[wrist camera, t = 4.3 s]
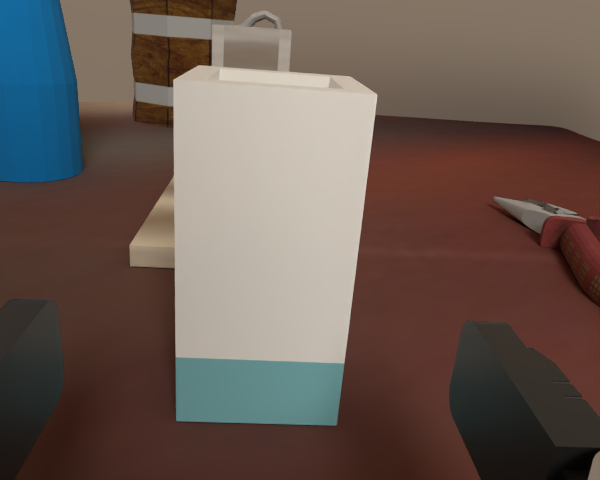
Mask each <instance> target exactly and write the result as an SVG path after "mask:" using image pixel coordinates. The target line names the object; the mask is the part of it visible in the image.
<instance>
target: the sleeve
mask: <svg viewBox="0 0 600 480" xmlns="http://www.w3.org/2000/svg"><path fill="white" fill-rule="evenodd" d="M376 101H377V94H376V93H374V92H373V91H371V90H370V89H368V88H367V87H365V86H364V85H362V84H361V83H359V82H358V81H356V80H355V79H353V78H352V77H350V76H336V75H323V74H310V73H296V72H283V71H269V70H256V69H243V68H229V67H216V66H203V65H198V66H197V67H195V68H193V69H191V70H190V71H188V72H186V73H184V74H183V75H181V76H179V77H177V78H176V79H174V80H173V106H174V226H175V346H176V421H190V422H225V423H261V424H297V425H332V426H337V418H338V410H339V402H340V394H341V386H342V378H343V370H344V362H345V354H346V345H347V337H348V329H349V321H350V313H351V305H352V297H353V289H354V281H355V273H356V265H357V256H358V248H359V240H360V232H361V224H362V216H363V208H364V200H365V192H366V184H367V175H368V167H369V159H370V151H371V143H372V135H373V127H374V119H375V110H376V103H377V102H376Z"/></svg>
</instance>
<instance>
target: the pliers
mask: <svg viewBox="0 0 600 480" xmlns="http://www.w3.org/2000/svg"><path fill="white" fill-rule="evenodd" d="M493 201H494V202H495V203H497V204H498V205H499V206H501V207H502V208H503V209H505V210H506V211H507V212H509V213H510V214H511V215H513V216H514V217H515V218H517V219H518V220H519V221H521V222H522V223H523V224H525V225H526V226H528V227H529V228H531V229H532V230H534V231H535V232H537V233H539V234H541V235H540V239H539V244H540V246H541V247H548V248H555V249H561V251H562V253H563V255H564V257H565V259H566V261H567V262H568V264H569V266H570V268H571V270H572V272H573V274H574V275H575V277H576V279H577V281H578V283H579V285H580V286H581V288H582V289H583V291H584V292H585V293H586V294H587V295H588V296H589V297H590V298H591V300H592V301H594V302H595V303H596V304H597V305H599V306H600V217H596V216H593V215H592V216H590V217H588V218H587V220H586V219H584V218H581V217H578V214H577V213H575V212H572V211H570V210H567V209H564V208H561V207H557V206H554V205H551V204H547V203H543V202H539V201H535V200H530V199H526V198H523V201H516V200H511V199H505V198H500V197H494V198H493Z"/></svg>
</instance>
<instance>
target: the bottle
mask: <svg viewBox="0 0 600 480" xmlns="http://www.w3.org/2000/svg"><path fill="white" fill-rule="evenodd" d="M82 170H83V161H82V147H81V132H80V118H79V104H78V91H77V79H76V75H75V70H74V65H73V60H72V56H71V51H70V46H69V42H68V37H67V32H66V28H65V23H64V18H63V13H62V9H61V4H60V0H0V181H9V182H47V181H54V180H61V179H65V178H69V177H73V176H75V175H78V174H80V173H81V172H82Z"/></svg>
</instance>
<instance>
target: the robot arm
mask: <svg viewBox="0 0 600 480" xmlns="http://www.w3.org/2000/svg"><path fill="white" fill-rule="evenodd" d="M63 381H64V365H63V355H62V344H61V334H60V323H59V314H58V308H57V305H56V304H55V302H54V301H47V300H25V299H11V300H9V301H8V302H7V303H6V304H5V305H4V306H3V307H2V308H1V309H0V480H14V479H15V477H16V476H17V474H18V472H19V470H20V469H21V467H22V465H23V463H24V461H25V460H26V458H27V456H28V454H29V453H30V451H31V449H32V447H33V446H34V444H35V442H36V440H37V439H38V437H39V435H40V433H41V431H42V430H43V428H44V426H45V424H46V423H47V421H48V419H49V417H50V416H51V414H52V412H53V410H54V409H55V407H56V405H57V403H58V401H59V398H60V395H61V392H62V387H63ZM569 382H570V381H569V380H568V379H567V377H566V376H565V375H564V374H563V373H562V371H561V370H560V369H559V368H558V366H557V365H556V364H555V363H554V362H552V361H551V360H549V359H548V358H546V357H545V356H543V355H542V354H541V353H539V352H538V351H536V350H535V349H533V348H526V347H525V345H524V344H523V343H522V341H521V340H520V339H519V338H518V336H517V335H516V334H515V332H514V331H513V330H512V329H511V327H510V326H509V325H508V324H507V323H505V322H489V321H467V322H466V323H465V324H464V326H463V328H462V331H461V336H460V340H459V345H458V350H457V355H456V359H455V364H454V369H453V373H452V378H451V383H450V390H449V401H450V409H451V413H452V416H453V419H454V421H455V423H456V425H457V428H458V430H459V432H460V434H461V436H462V439H463V441H464V443H465V445H466V447H467V450H468V452H469V454H470V456H471V458H472V461H473V463H474V465H475V467H476V469H477V472H478V474H479V476H480V478H481V480H600V417H599V416H598V415H597V414H596V412H595V411H594V410H593V409H592V408H591V406H590V405H589V404H588V403H587V402H586V400H582V396H581V394H580V393H579V392H578V391H577V389H576V388H575V387H574V386H573V385H570V383H569Z"/></svg>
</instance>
